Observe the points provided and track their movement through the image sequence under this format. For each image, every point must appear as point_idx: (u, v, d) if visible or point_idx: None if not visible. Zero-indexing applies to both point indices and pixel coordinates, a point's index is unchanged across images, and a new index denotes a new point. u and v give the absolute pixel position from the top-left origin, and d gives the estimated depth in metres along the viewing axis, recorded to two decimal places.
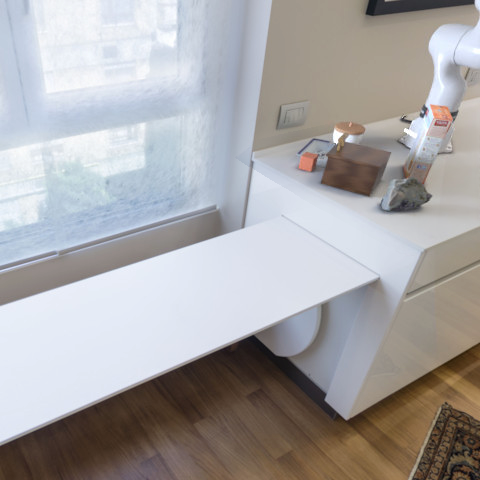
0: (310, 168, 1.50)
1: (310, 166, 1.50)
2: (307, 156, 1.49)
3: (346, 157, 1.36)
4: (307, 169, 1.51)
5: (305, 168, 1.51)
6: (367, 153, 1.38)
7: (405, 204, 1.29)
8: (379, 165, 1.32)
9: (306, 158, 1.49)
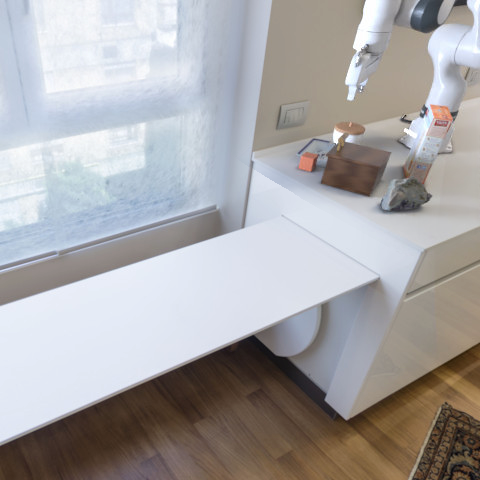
0: (310, 168, 1.50)
1: (310, 166, 1.50)
2: (307, 156, 1.49)
3: (346, 157, 1.36)
4: (307, 169, 1.51)
5: (305, 168, 1.51)
6: (367, 153, 1.38)
7: (405, 204, 1.29)
8: (379, 165, 1.32)
9: (306, 158, 1.49)
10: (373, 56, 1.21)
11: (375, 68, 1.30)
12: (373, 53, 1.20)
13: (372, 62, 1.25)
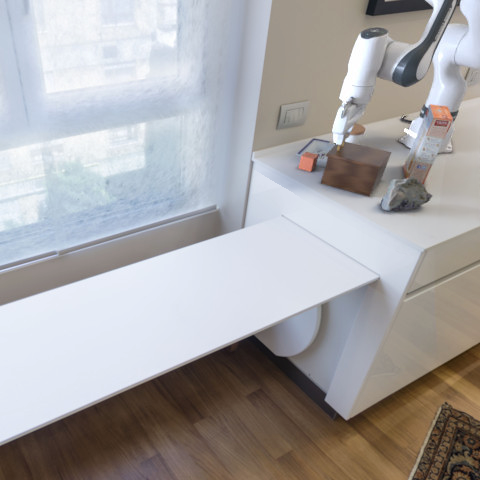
0: (310, 168, 1.50)
1: (310, 166, 1.50)
2: (307, 156, 1.49)
3: (346, 157, 1.36)
4: (307, 169, 1.51)
5: (305, 168, 1.51)
6: (367, 153, 1.39)
7: (405, 204, 1.29)
8: (379, 165, 1.32)
9: (306, 158, 1.49)
10: (358, 107, 1.30)
11: (361, 114, 1.39)
12: (358, 104, 1.29)
13: (357, 110, 1.34)
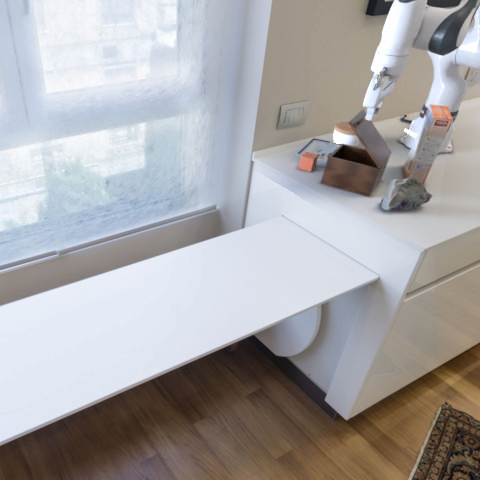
0: (310, 168, 1.50)
1: (310, 166, 1.50)
2: (307, 156, 1.49)
3: (362, 137, 1.30)
4: (307, 169, 1.51)
5: (305, 168, 1.51)
6: (377, 142, 1.35)
7: (405, 204, 1.29)
8: (381, 165, 1.32)
9: (306, 158, 1.49)
10: (391, 78, 1.22)
11: (392, 89, 1.31)
12: (391, 76, 1.21)
13: (389, 84, 1.26)
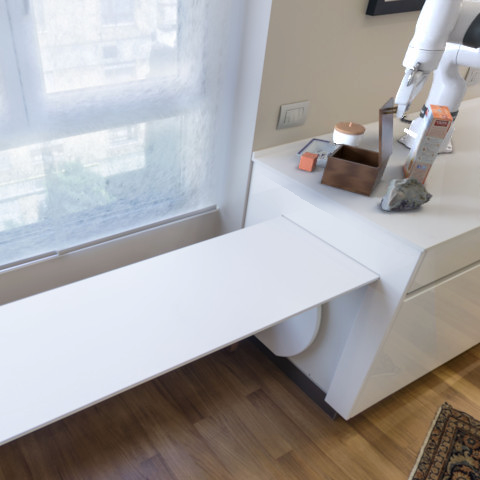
0: (310, 168, 1.50)
1: (310, 166, 1.50)
2: (307, 156, 1.49)
3: (382, 131, 1.26)
4: (307, 169, 1.51)
5: (305, 168, 1.51)
6: (388, 139, 1.33)
7: (405, 204, 1.29)
8: (382, 165, 1.31)
9: (306, 158, 1.49)
10: (424, 74, 1.17)
11: (422, 85, 1.26)
12: (424, 71, 1.16)
13: (421, 80, 1.21)
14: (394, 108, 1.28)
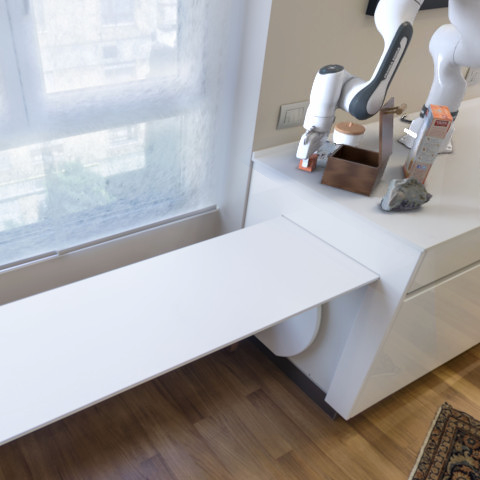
0: (310, 168, 1.50)
1: (310, 166, 1.50)
2: None
3: (382, 131, 1.26)
4: (307, 169, 1.51)
5: (305, 168, 1.51)
6: (388, 139, 1.33)
7: (405, 204, 1.29)
8: (382, 165, 1.31)
9: None
10: (320, 134, 1.42)
11: (325, 139, 1.52)
12: (319, 132, 1.42)
13: (321, 137, 1.47)
14: (394, 108, 1.28)
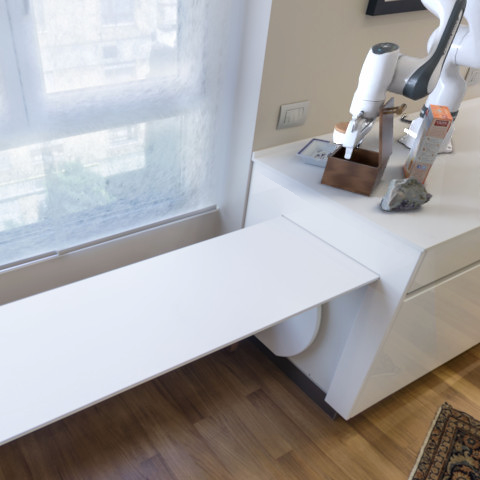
0: None
1: None
2: None
3: (382, 131, 1.26)
4: None
5: None
6: (388, 139, 1.33)
7: (405, 204, 1.29)
8: (382, 165, 1.31)
9: None
10: (368, 120, 1.30)
11: (370, 127, 1.40)
12: (368, 118, 1.30)
13: (367, 124, 1.35)
14: (394, 108, 1.28)
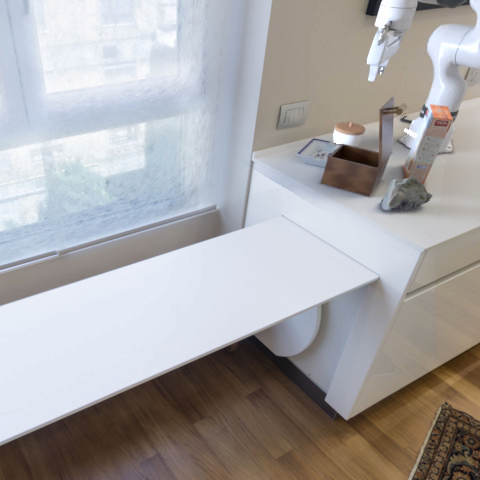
0: None
1: None
2: None
3: (382, 131, 1.26)
4: None
5: None
6: (388, 139, 1.33)
7: (405, 204, 1.29)
8: (382, 165, 1.31)
9: None
10: (396, 34, 1.15)
11: (397, 48, 1.25)
12: (396, 31, 1.15)
13: (394, 41, 1.20)
14: (394, 108, 1.28)
